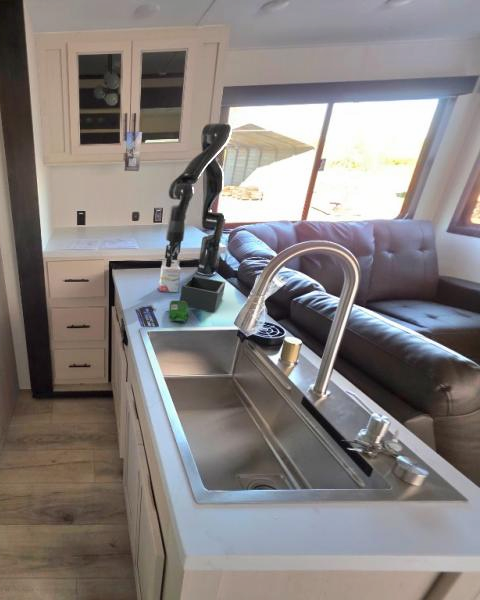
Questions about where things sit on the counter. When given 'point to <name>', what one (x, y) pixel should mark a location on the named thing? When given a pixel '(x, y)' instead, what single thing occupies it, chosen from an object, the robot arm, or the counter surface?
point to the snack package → (178, 311)
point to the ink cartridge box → (170, 277)
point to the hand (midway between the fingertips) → (171, 264)
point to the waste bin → (202, 293)
